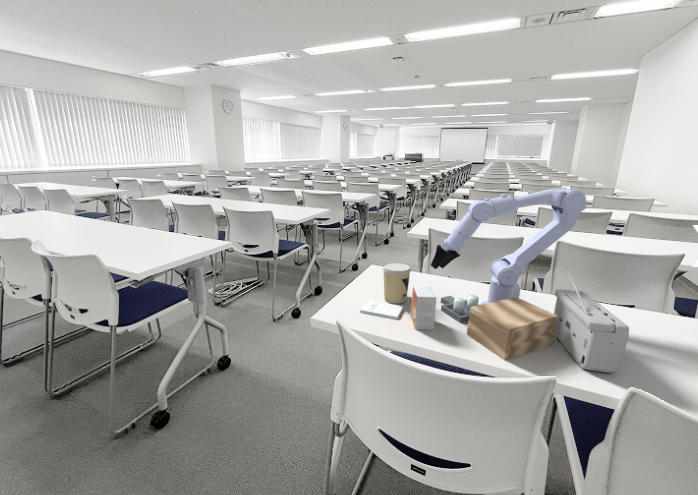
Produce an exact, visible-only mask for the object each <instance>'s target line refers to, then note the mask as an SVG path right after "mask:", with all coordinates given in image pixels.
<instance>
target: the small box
mask: <svg viewBox="0 0 698 495" xmlns="http://www.w3.org/2000/svg"><path fill="white" fill-rule="evenodd" d="M410 306H411V308H410V318H411V321H412V325H413V328H414V330H426V331H427V330H429V331H431V330H432V331H433V330H434V325H435V318H436V317H435V315H436V308H437V307H436V306H437V296H436V295H435V292H434V291H433V289H432V287H431V286H420V285H419V286H417V285H416V286H415V285H414V286H412V295H411V304H410Z"/></svg>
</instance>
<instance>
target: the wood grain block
mask: <svg viewBox="0 0 698 495" xmlns="http://www.w3.org/2000/svg"><path fill="white" fill-rule="evenodd" d="M557 318H558V316H557V315H555V314H554V312H553V313H552V312H550V311H548V310H546V309H544V308H542V307H539V306H537V305H534V304H533V303H530V302H529V301H527V300H524V299H522V298H520V297H519V298H517V297H513V298H509V299H504V300H500V301H495V302H491V303H487V304H482V303H481V304H479V305H478V306H473V307H470V313H469V321H467V322H468V323H467V329H466V330H467V331H466V335H467V336H468V337H470V338H471V339H473V340H474V341H475V342H477V343H479V344H480V345H481V346H483V347H485V348H486V349H488V350H489V351H491V352H492V353H494V354H495V355H496V356H498V358H500V359H502V360H504V361H505V360H508V359H511V358H514V357H517V356H520V355H523V354H528V353H530V352H533V351H536V350H539V349H542V348H545V347H549V346H552V345H553V341H554V338H555V337H554V336H555V334H554V332H555V327H556V323H557Z"/></svg>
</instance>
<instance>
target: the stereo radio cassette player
mask: <svg viewBox="0 0 698 495" xmlns="http://www.w3.org/2000/svg"><path fill="white" fill-rule="evenodd" d="M565 270H566V271H567V272H568V273H567V274H568V275H569V278H570V281H571V283H572V285H573V288H574V290H571V289H555V292H554V296H555V297H556V301H555V304H554V305H555V306H554V311H553V314H555V315H557V316H558V318H557V323H556V327H555V332H554V336H555V337H556V338H557V339H558V340H559V342H560V343H561V344H562V346H564V348H565V349H566V350H567V352H568V353H569V354H570V355H571V356H572V358H573V359H574V360H575V362H577V364H578V365H579V367H580V368H581V369H582V370H584V369H585V370H586V371H593V372H601V373H606V372H607V373H606V374H608V373H609V374H612V373H618V370H619V368H620V366H621V364H622V360H623V358H624V355H625V351H626V347H627V343H628V339H629V335H630V327H629V325H627V324H626V323H624V322H623V320H621V319H620V318H619V317H617V316H615V315H614V314H613V313H611V312H610V311H609V310H608V309H606V308H605V307H604V306H602V305H601V304H600V303H599V302H598V301H596V300H595V299H594V298H593V297H591V296H590V295H588V293H586V292H584V291H583V290H579V289H578V288H577V286H576V284H575V282H574V281H575V280H574V279H573V278H572V275H571V273H570V271H569V267H566V268H565Z"/></svg>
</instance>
